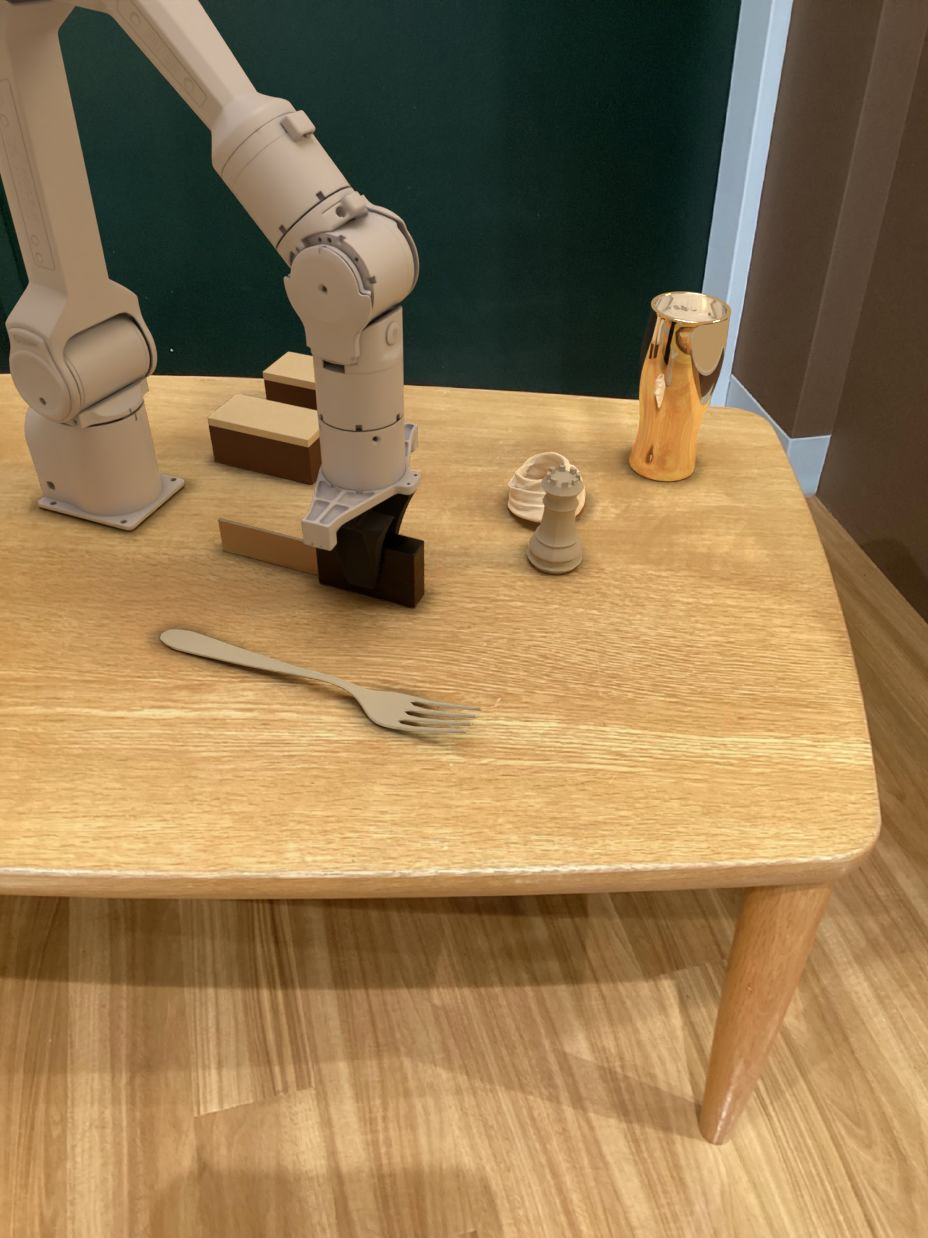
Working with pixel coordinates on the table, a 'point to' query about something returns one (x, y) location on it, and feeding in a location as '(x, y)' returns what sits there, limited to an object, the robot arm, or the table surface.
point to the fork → (376, 704)
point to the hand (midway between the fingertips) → (369, 573)
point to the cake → (267, 438)
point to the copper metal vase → (677, 380)
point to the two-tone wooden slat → (334, 560)
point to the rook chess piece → (558, 523)
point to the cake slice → (291, 381)
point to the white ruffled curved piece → (536, 486)
